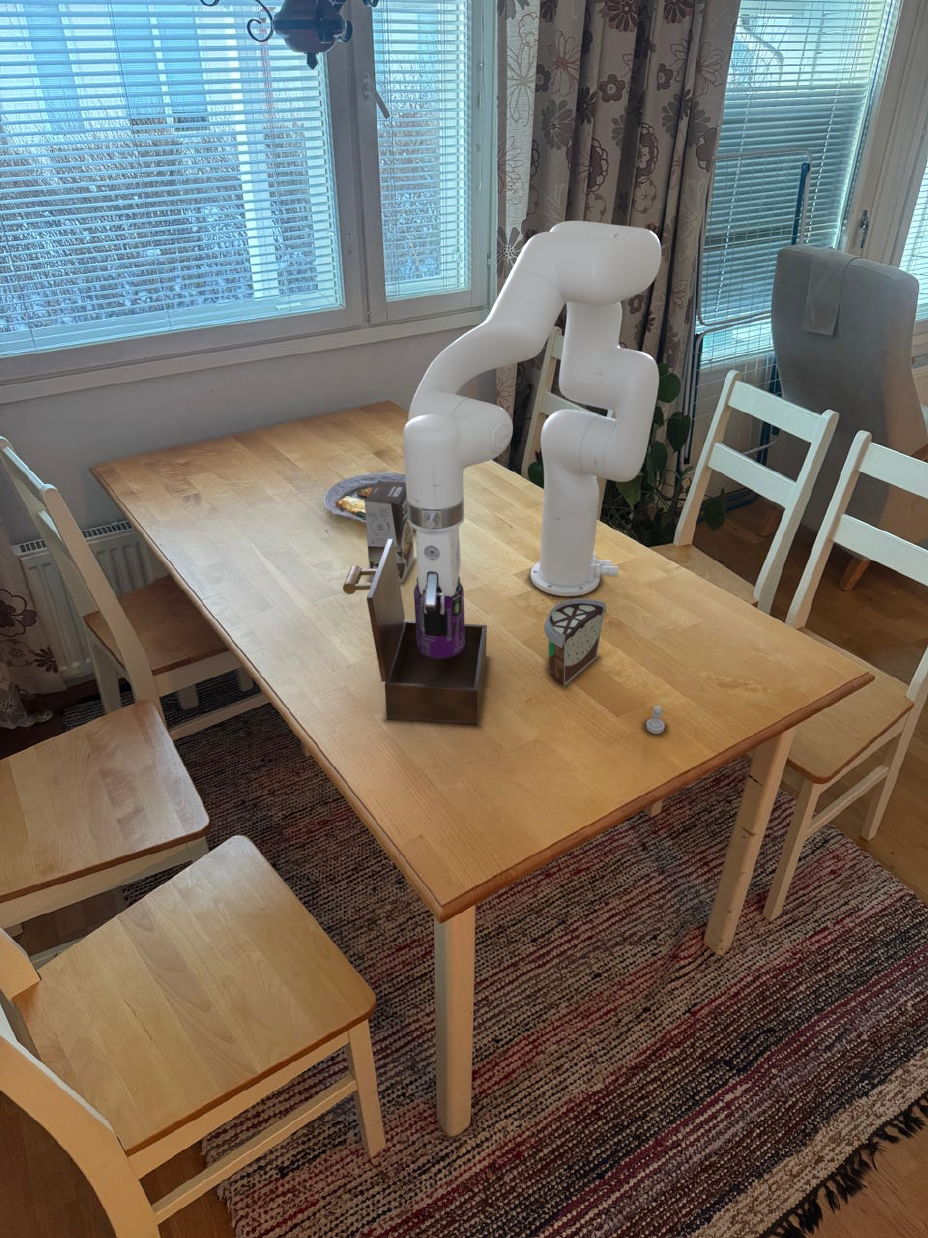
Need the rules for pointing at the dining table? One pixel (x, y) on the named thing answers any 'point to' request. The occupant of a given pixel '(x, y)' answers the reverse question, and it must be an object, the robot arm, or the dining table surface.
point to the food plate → (356, 494)
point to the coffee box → (389, 525)
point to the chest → (436, 680)
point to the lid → (382, 605)
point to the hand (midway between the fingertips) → (439, 618)
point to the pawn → (655, 721)
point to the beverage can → (455, 622)
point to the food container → (573, 636)
